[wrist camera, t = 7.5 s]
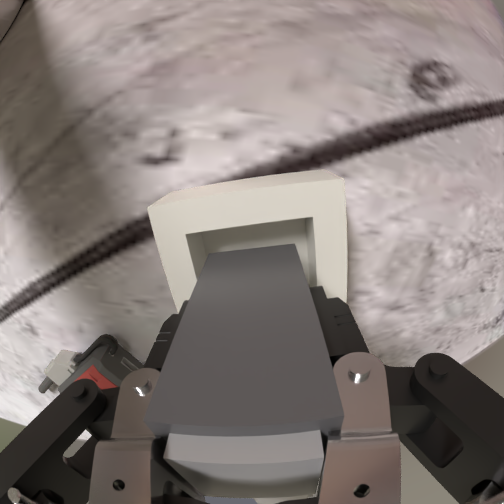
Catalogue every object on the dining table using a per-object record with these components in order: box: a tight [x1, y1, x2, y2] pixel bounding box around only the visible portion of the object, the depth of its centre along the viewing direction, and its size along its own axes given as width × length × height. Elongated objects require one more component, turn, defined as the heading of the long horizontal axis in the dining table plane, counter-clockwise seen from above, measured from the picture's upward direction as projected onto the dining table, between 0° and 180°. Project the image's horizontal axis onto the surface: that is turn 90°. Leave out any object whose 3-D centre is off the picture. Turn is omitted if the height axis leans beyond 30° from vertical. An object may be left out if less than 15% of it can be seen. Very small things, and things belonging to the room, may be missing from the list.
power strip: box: [147, 169, 347, 504], centre depth 12 cm, size 18×8×10 cm, turn 9°
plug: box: [143, 243, 344, 498], centre depth 8 cm, size 4×4×9 cm
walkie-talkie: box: [39, 334, 144, 394], centre depth 19 cm, size 9×4×20 cm
